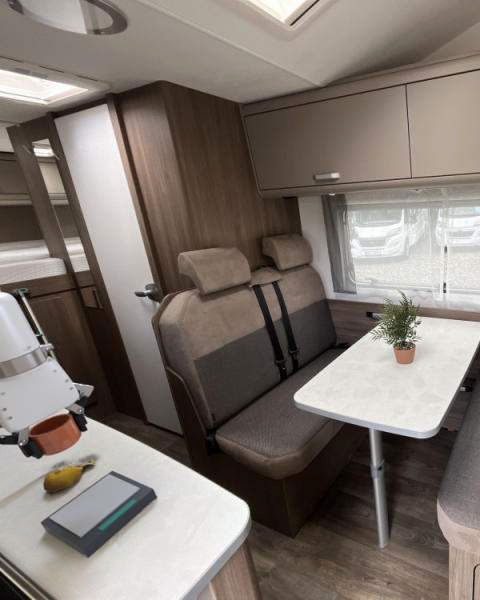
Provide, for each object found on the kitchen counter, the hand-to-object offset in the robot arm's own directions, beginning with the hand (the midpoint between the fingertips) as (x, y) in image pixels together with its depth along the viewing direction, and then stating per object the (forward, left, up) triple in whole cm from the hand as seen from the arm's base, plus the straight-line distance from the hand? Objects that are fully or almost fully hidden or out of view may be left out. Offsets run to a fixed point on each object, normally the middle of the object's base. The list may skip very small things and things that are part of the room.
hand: (60, 441), depth 61 cm
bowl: (0, 0, -1) cm, 1 cm away
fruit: (-12, +2, -16) cm, 20 cm away
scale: (+6, -1, -16) cm, 17 cm away
